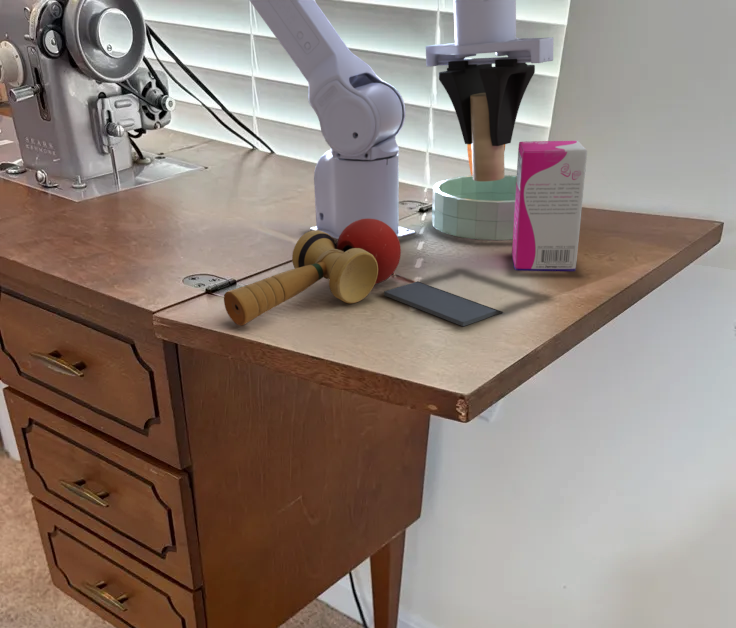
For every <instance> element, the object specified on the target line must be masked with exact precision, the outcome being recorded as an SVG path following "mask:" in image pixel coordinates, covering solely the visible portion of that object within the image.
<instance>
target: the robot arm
mask: <svg viewBox="0 0 736 628" xmlns="http://www.w3.org/2000/svg"><path fill="white" fill-rule="evenodd" d="M249 2H250V3H251V5H252V7H254V9H255V10H256V12H257V13H258V15H259V16H260V17H261V18H262V20H263V21H264V23H265V24H266V25H267V27H268V29H269V30H270V31H271V32H272V34H273V35H274V36H275V38H276V39H277V41H278V43H279V44H280V45H281V46H282V48H283V49H284V51H285V52H286V53H287V55H288V56H289V58H290V59H291V61H292V62H293V63H294V64H295V66H296V67H297V69H298V71H299V72H300V73H301V74H302V76H303V77H304V79H305V80H306V82H307V83H308V84H307V85H308V98H307V100H308V104H309V106H310V107H311V108H312V109H313V111H314V113H315V115H316V117H317V119H318V121H319V127H320V131H321V134H322V137H323V139H324V141H325V142H326V144H327V145H328V146H329V147H330V149H329V150H327V151H325V152H324V153H323V154H322V155H321V156H320V158H319V159H318V161H317V163H316V165H315V168H314V173H313V174H314V175H313V187H314V208H315V209H314V210H315V225H316V226H312V227H310V228H309V231H312V230H319V231H322V232H325V233H327V234H329V235H330V236H331V237H332V238H333V239H336V240H338V238H339V236H340V234H341V233H342V231H343V230H344V229H345V228H346V227H347V226H348V225H350V224H351V223H353V222H355V221H357V220H360V219H366V218H367V219H376V220H379V221H382V222H384V223H385V224H387V225H388V226H390V227H391V228H392V229H393V231H394V232H395V233H396V235H397V237H398V239H400V238H403V237H407V236H411V235H414V234H416V231H415V230H412V229H409V228H406V227H403V226H399V221H400V220H399V219H400V218H399V214H400V212H399V210H400V209H399V207H400V206H399V205H400V202H399V201H400V199H399V198H400V195H399V194H400V193H399V192H400V188H399V184H400V183H399V182H400V180H399V178H400V177H399V176H400V174H399V172H400V169H399V168H400V167H399V165H400V164H399V162H400V161H399V158H400V155H399V152H400V150H399V149H400V148H399V145H398V143H397V141H396V136H397V135H399V134H400V132H401V131H402V129H403V127H404V124H405V122H406V117H407V116H406V115H407V114H406V113H407V112H406V111H407V109H406V104H405V101H404V98H403V96H402V93H400V92H399V90H398V89H397V88H396V87H395V86H393V85H392V84H391V83H389V82H387V81H385V80H383V79H381V78H380V77H379V75H377V74H376V72H375V71H374V69H373V68H372V67H371V65H369V64H368V63H367V62H366V61H364V60H363V59H361V58H360V57H359V56H357V55H356V54H354V53H353V52H352V51H351V50H350V49H349V47H348V45H346V43H345V42H344V39H342V37H341V36H340V34H339V33H338V31H337V30H336V29H335V27H334V26H333V24H332V23H331V21H330V20H329V18H328V17H327V16H326V15H325V13H324V12H323V10H322V9H321V7H320V6H319V4H318V3H317V2H316V0H249ZM453 22H454V23H453V24H454V26H453V27H454V42H451V43H449V42H448V43H438V44H430V45H425V64H426V67H428V68H429V67H438V66H448V67H447V68H446V70H443V71H439V72H438V80H439V82H440V83H441V85H442V87H443V88H444V90H445V92H446V94H447V95H448V97H449V99H450V101H451V104H452V107H453V109H454V111H455V114H456V118H457V120H458V123H459V128H460V131H461V135H462V138H463V141H464V144H465V145H467V144H472V136H471V105H470V96H471V95H473V94H479V93H486V98H487V103H488V109H489V124H490V137H491V142H492V146H500V145H504V144H505V145H508V144H511V143H512V138H513V135H514V128H515V125H516V120H517V116H518V114H519V109H520V107H521V103H522V100H523V98H524V95H525V94H526V91H527V88H528V86H529V84H530V82H531V80H532V78H533V76H534V75H535V73H536V65H535V64H541V63H542V64H543V63H546V62H553V61H554V37H521V38H520V37H517V0H453ZM491 53H492V54H493V53H495V56H496V57H495V56H494V57H475V56H477V55H479V54H491ZM470 57H471V58H470ZM474 57H475V58H474ZM529 63H530V64H529ZM493 64H494V66H493Z"/></svg>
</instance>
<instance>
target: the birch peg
mask: <svg viewBox="0 0 736 628" xmlns="http://www.w3.org/2000/svg"><path fill="white" fill-rule="evenodd" d="M470 105H471V136H472V168H473V180H474V181H481V182H486V181H496V180H500V179H503V178H504V177H505V175H506V174H505V151H504V145H500V146H492V142H491V137H490V124H489V109H488V103H487V98H486V93H479V94H473V95H471V96H470Z"/></svg>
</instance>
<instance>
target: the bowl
mask: <svg viewBox="0 0 736 628" xmlns="http://www.w3.org/2000/svg"><path fill="white" fill-rule="evenodd" d="M516 179H517V174H516V175H515V174H505V177H504V178H503V179H500V180H496V181H486V182H481V181H474V180H473V175H471V174H469V175H462V176H460V175H459V176H456V177H451V178H446V179H442V180H440V181H437V182H436V183H435V184H434V185H433V187H432V199H431V200H432V201H431V203H432V204H431V223H432V226H433V227H434V228H435V230H437V231H439V232H441V233H443V234H446V235H449V236H453V237H457V238H463V239H470V240H478V241H479V240H480V241H513V228H514V212H515V195H516Z"/></svg>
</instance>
